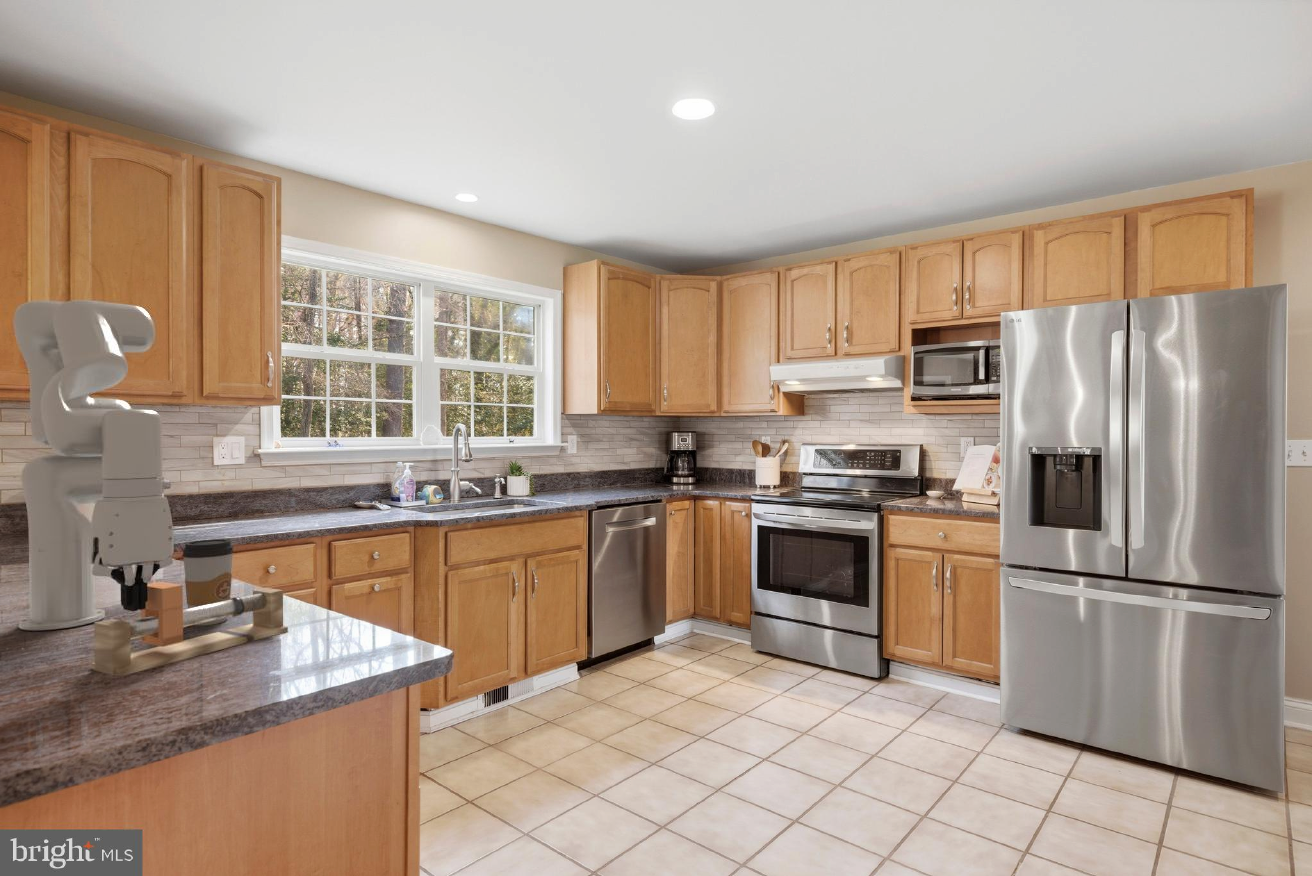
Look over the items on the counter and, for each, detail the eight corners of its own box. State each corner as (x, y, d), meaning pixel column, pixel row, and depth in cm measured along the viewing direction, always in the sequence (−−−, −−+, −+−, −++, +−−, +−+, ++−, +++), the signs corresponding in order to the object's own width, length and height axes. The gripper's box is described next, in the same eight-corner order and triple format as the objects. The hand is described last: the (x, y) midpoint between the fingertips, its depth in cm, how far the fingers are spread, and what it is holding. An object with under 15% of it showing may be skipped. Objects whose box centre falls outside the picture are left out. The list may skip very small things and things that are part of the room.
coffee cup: (210, 628, 133) (209, 546, 133) (171, 626, 135) (170, 544, 135) (244, 616, 142) (244, 539, 142) (207, 614, 143) (207, 538, 143)
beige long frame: (118, 676, 107) (117, 627, 107) (89, 668, 110) (89, 621, 110) (288, 631, 131) (288, 591, 131) (260, 625, 135) (260, 586, 135)
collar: (163, 646, 113) (162, 588, 113) (141, 641, 116) (140, 585, 116) (183, 641, 116) (182, 585, 116) (161, 637, 119) (160, 581, 119)
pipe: (118, 646, 109) (118, 624, 109) (106, 643, 110) (106, 622, 110) (273, 609, 131) (273, 591, 131) (262, 607, 133) (262, 590, 133)
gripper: (170, 486, 121) (171, 597, 121) (63, 492, 107) (64, 617, 107) (197, 487, 117) (198, 601, 117) (89, 494, 104) (91, 623, 104)
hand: (134, 609), depth 112 cm, fingers closed
